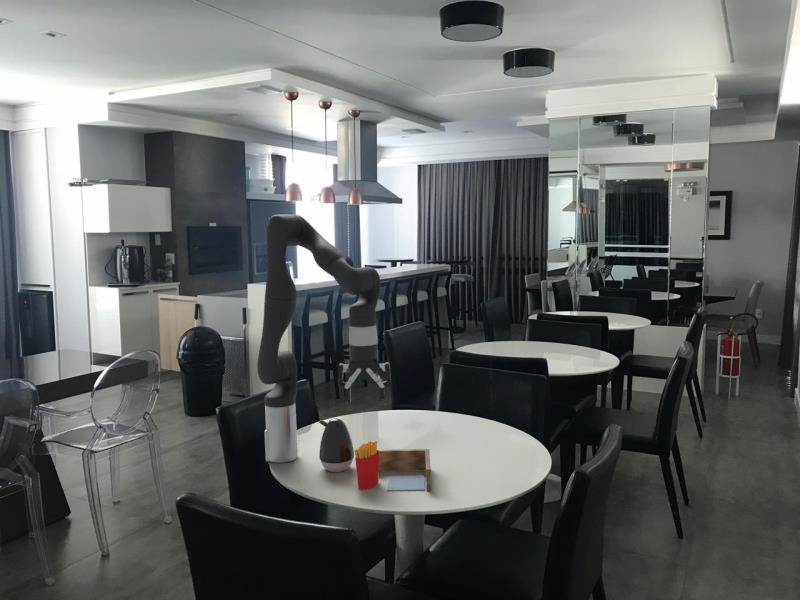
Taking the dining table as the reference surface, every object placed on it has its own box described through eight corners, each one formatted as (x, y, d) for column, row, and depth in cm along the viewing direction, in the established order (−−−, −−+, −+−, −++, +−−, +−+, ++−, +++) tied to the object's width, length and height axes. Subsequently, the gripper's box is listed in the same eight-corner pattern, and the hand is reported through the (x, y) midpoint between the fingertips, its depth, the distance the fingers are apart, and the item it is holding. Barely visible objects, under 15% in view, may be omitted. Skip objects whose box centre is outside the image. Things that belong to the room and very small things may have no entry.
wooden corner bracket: (357, 492, 176) (356, 470, 176) (362, 470, 192) (361, 450, 192) (431, 491, 176) (430, 469, 175) (429, 468, 192) (429, 448, 191)
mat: (387, 491, 177) (387, 489, 177) (388, 476, 187) (388, 475, 187) (424, 490, 177) (424, 489, 176) (424, 476, 186) (424, 475, 186)
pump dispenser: (329, 461, 201) (327, 412, 199) (360, 464, 197) (358, 415, 195) (312, 473, 191) (310, 422, 189) (345, 477, 187) (343, 425, 186)
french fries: (372, 479, 185) (370, 437, 184) (383, 482, 183) (381, 440, 182) (352, 489, 179) (350, 446, 177) (363, 492, 176) (362, 448, 175)
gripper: (335, 345, 173) (337, 405, 175) (389, 344, 173) (391, 404, 174) (338, 340, 180) (340, 398, 182) (390, 339, 180) (392, 397, 182)
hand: (365, 401), depth 178 cm, fingers open, 8 cm apart
